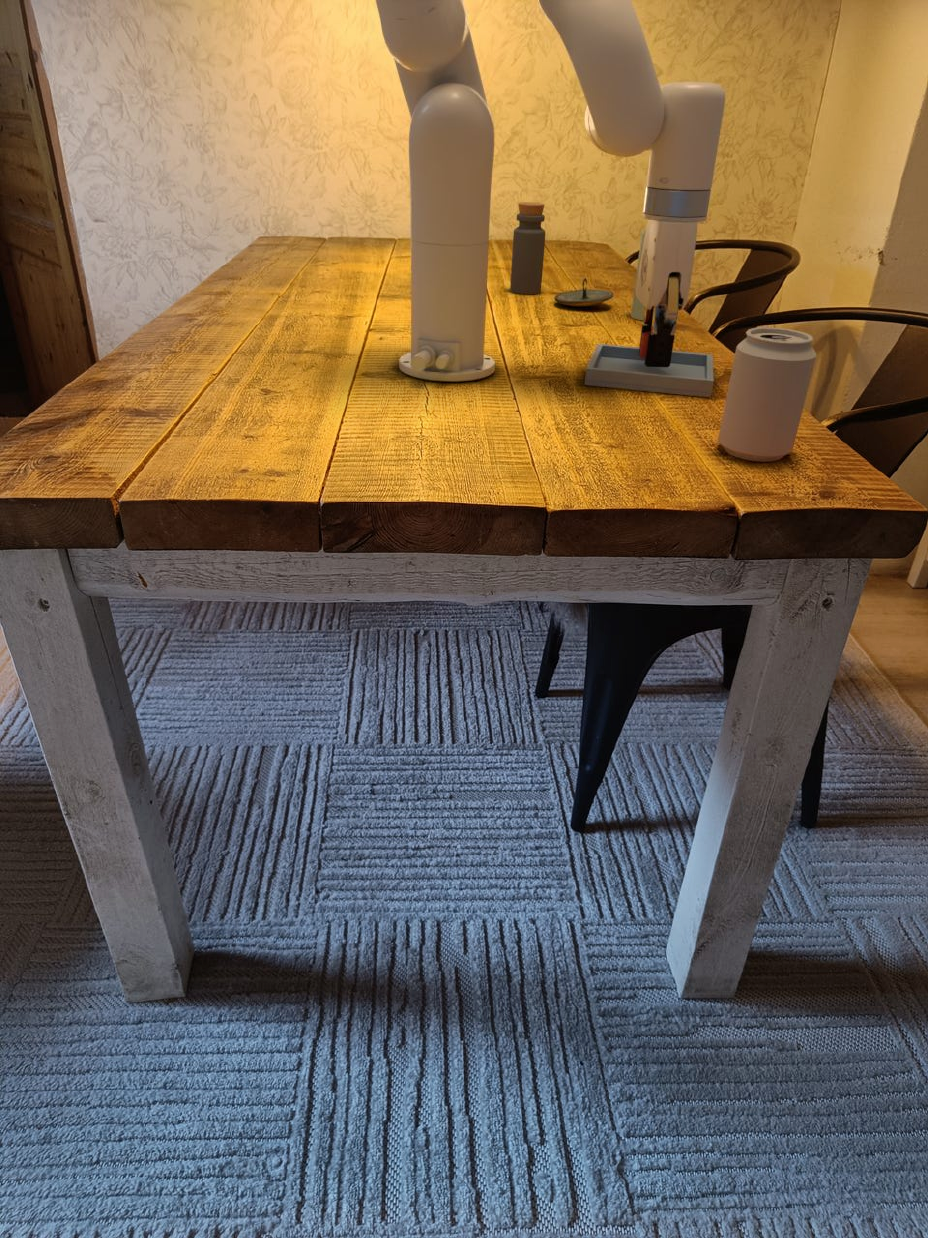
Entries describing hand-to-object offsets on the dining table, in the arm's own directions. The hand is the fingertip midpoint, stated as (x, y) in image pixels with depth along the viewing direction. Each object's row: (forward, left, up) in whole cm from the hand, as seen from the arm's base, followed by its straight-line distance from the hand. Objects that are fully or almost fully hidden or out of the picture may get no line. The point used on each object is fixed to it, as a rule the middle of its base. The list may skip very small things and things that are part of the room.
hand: (653, 360), depth 108 cm
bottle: (+52, +26, -2) cm, 58 cm away
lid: (+43, +14, -2) cm, 45 cm away
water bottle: (+38, +2, -2) cm, 38 cm away
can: (-25, -12, -2) cm, 28 cm away
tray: (0, 0, -2) cm, 2 cm away
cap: (0, 0, 0) cm, 0 cm away
